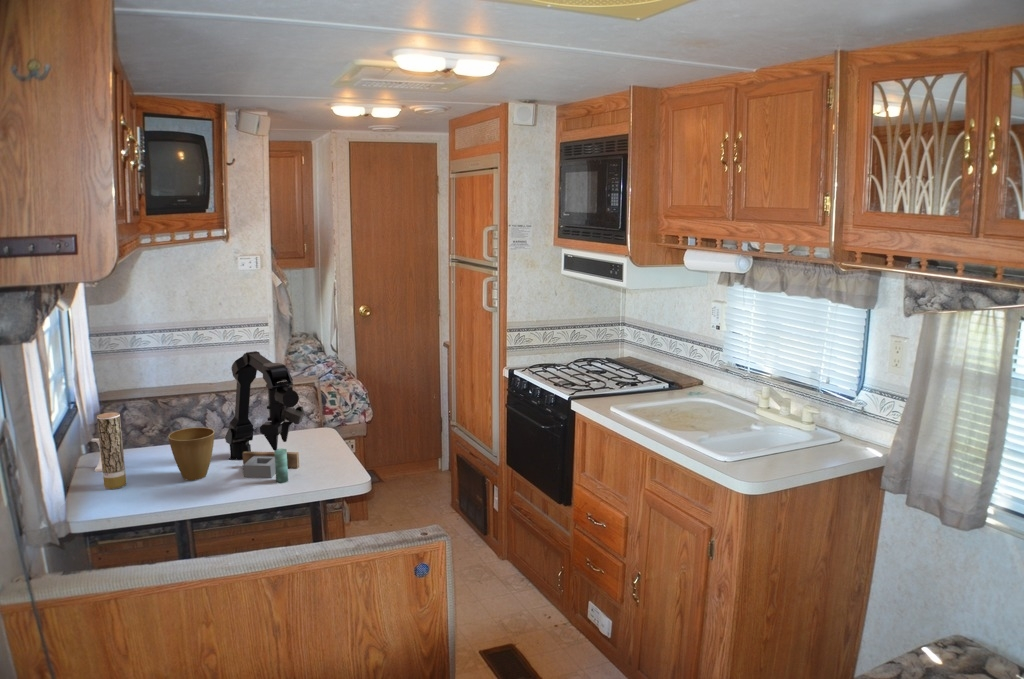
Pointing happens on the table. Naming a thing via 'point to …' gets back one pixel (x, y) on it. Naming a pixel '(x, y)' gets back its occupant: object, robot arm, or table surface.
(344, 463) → the table surface
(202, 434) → the plant pot
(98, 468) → the headphone stand
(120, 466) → the brown bark cylinder
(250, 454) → the backstop wall
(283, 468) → the dowel
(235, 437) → the robot arm
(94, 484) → the table surface
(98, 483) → the table surface
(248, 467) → the socket block
